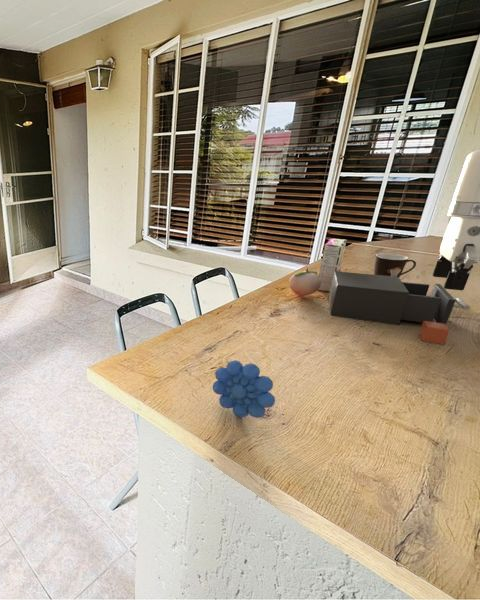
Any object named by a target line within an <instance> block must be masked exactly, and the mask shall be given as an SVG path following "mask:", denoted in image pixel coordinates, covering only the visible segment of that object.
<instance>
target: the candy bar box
mask: <svg viewBox="0 0 480 600" xmlns="http://www.w3.org/2000/svg"><path fill="white" fill-rule="evenodd" d="M347 241H348V240H347V239H341V238H330V239H329V240H328V241H327V242H326V243H325V244H324V247H323V253H322V258H321V262H320V268H319V273H318V276H319V277H320V279H321V285H320V288H319V289H318V290H317V291H319V292H320V291H321V292H328V293H330V290H331V286H332V281H333V277H334V273H335V271H338V272H341V269H342V264H343V258H344V254H345V249H346V244H347Z"/></svg>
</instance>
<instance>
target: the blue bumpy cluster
mask: <svg viewBox="0 0 480 600" xmlns="http://www.w3.org/2000/svg"><path fill="white" fill-rule="evenodd" d="M260 374H261V370H260V367H259V366H258V365H257V364H255V363H252V362H251V363H246V364H245V365H243V364H242V362H240V361H239V360H235V359H234V360H230V361H228V362H227V364H226V367H218V368H217V369H216V370H215V372H214V376H215V379H216V380H215V381H214V382H213V384H212V391H213V392H214V393H215V394H216V395H219V399H218V401H219V405H220V406H221V407H222V408H224V409H232V413H233V415H235V417H237V418H241V419H242V418H243V419H244V418H247V417H248V416H251V418H252V417H253V418H255V419H258V418H259V419H260V418H262V417H264V416H265V413H266V409H267V408H269V409H270V408H272V407H274V405H275V402H276V398H275V395H273V394H272V393H271V392H270V391H271V390H272V389H273V386H274V382H273V380H272V379H271V378H270V377H269V376H267V375H260Z"/></svg>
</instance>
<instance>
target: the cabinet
mask: <svg viewBox="0 0 480 600" xmlns="http://www.w3.org/2000/svg"><path fill="white" fill-rule="evenodd" d="M402 282H403V281H402V280H401V278H400V277H394V276H383V275H374V274H370V273H359V272H350V271H349V272H346V271H340V272H338V271H335V273H334V277H333V281H332V286H331V290H330V292H329V294H328V306H329V307H328V308H329V314H330V316H331V317H339V318H347V319H352V320H353V319H354V320H361V321H366V322H367V321H368V322H373V323H374V322H375V323H381V324H388V325H395V326H400V323H401V317H402V314H403V311H404V307H405V304H406V301H407V298H408V295H409V292H408V290H407V289H406V287H405V286H404V284H403V283H402Z"/></svg>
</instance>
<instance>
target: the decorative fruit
mask: <svg viewBox="0 0 480 600" xmlns="http://www.w3.org/2000/svg"><path fill="white" fill-rule="evenodd" d="M288 285H289V288H290V290H291V291H292V292H293V293H294V294H296V295H297V296H298V297H301V298H302V297H306V296H309V295H312V294H315V293H316V292H317V291H319V290H318V289H319V288H320V285H321V279H320V277H319V274H318V272H317V271H316V270H312V269H310V270H309V268H306V270H303V271H297V272H295V273H294V274H293V275H292V276H291V277H290V278H289V281H288Z"/></svg>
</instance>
